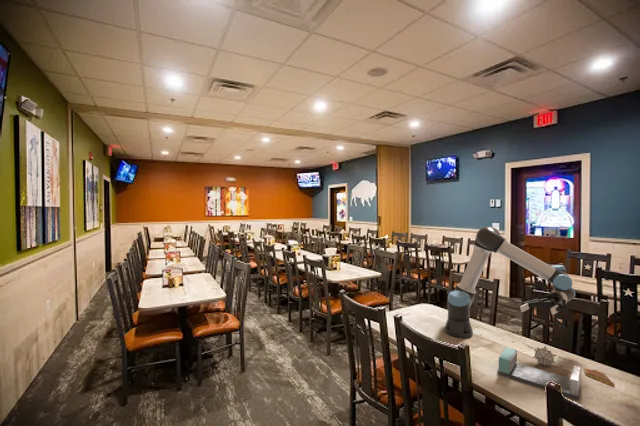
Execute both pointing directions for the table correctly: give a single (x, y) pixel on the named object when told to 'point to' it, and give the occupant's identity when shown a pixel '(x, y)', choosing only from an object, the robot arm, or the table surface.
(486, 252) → the robot arm
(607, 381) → the shard
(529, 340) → the table surface
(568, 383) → the vise bed
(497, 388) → the table surface
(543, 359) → the game die
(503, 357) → the block
